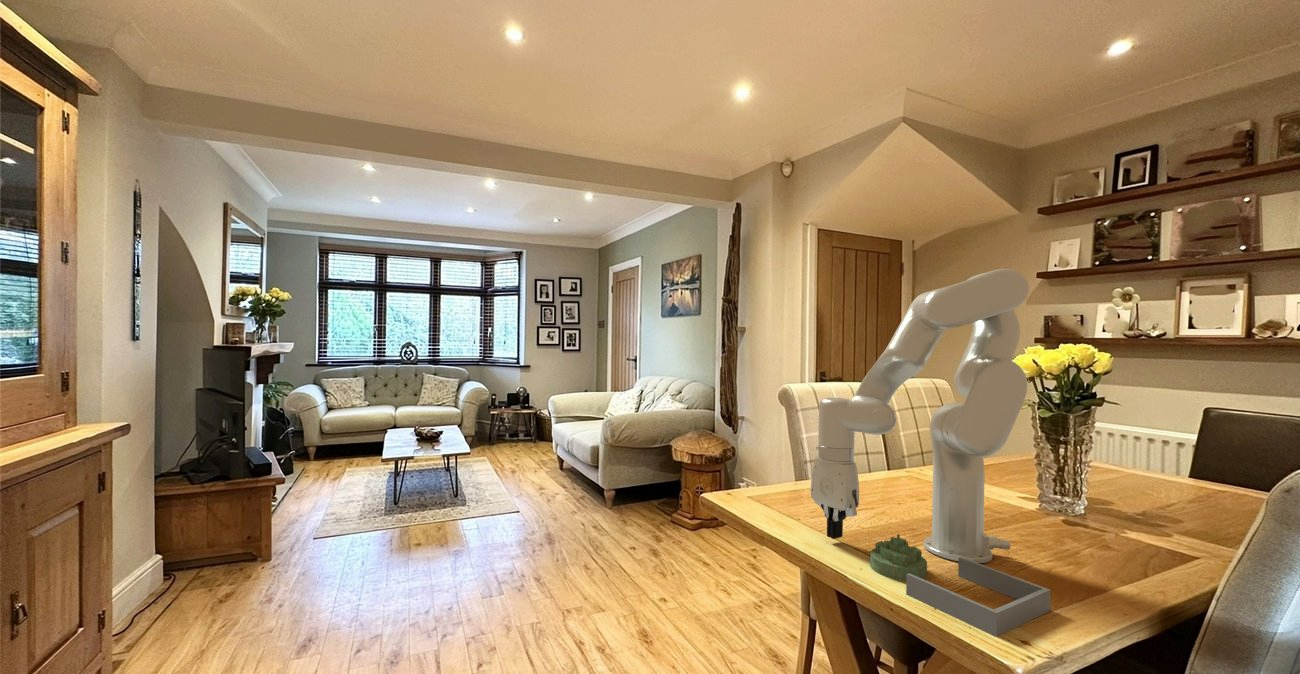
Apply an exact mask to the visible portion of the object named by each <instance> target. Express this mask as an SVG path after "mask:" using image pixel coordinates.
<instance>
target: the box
mask: <svg viewBox="0 0 1300 674" xmlns="http://www.w3.org/2000/svg"><path fill="white" fill-rule="evenodd" d="M957 573H958V575H957V576H958V577H960V578H963V579H964V580H967V581H970V582H971V583H972V582H973V583H974V584H977V585H979V586H982V587H985V588H987V589H990V590H992V591H995V592H997V593H1000V594H1002V595H1005V596H1007V597H1010V598H1012V599H1015V600H1014V601H1010V602H1009V603H1006V604H1004V605H1002V606H999V607H996V608H994V609H993V608H991V607H989V606H986V605H984V604H982V603H981V602H977V601H975V600H973V599H970V598H968V597H965V596H963V595H961V594H958V593H956V592H954V591H952V590H949V589H947V588H945V587H942V586H940V585H938V584H935V583H933V582H931V581H928V580H926V579H922V578H919V577H917V576H915V575H912V574H910V573H908V574H907V575H906V581H905V583H906V589H905V592H906V593H905V594H906V595H907V596H910V597H912V598H913V599H916V600H918V601H920V602H923V603H924V604H926V605H929V606H930V607H933V608H935V609H938V610H939V611H941V612H944V613H945V614H948V615H949V616H952V617H954V618H956V619H958V620H960V621H963V622H965V623H967V624H969V625H970V626H973V627H975V628H977V629H979V630H982V631H983V632H985V633H987V634H990V635H992V636H994V637H998V636H1000V635H1003V634H1005V633H1007V632H1009V631H1011V630H1013V629H1015V628H1017V627H1020V626H1021V625H1024V624H1026V623H1028V622H1031V621H1033V620H1034V619H1036V618H1039V617H1041V616H1043V615H1044V614H1047V613H1049V612H1051V608H1052V607H1051V604H1052V603H1051V600H1052V599H1051V594H1052V590H1051V589H1049V588H1047V587H1044V586H1042V585H1038V584H1036V583H1033V582H1030V581H1028V580H1026V579H1023V578H1019V577H1018V576H1014V575H1011V574H1009V573H1007V572H1006V573H1005V572H1004V571H1001V570H997V569H995V568H993V567H989V566H987V565H984V564H983V563H976V562H974V561H971V560H968V559H965V558H963V557H959V561H958V572H957Z"/></svg>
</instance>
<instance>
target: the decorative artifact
mask: <svg viewBox="0 0 1300 674" xmlns="http://www.w3.org/2000/svg"><path fill="white" fill-rule="evenodd" d="M874 547H875V548H872V549H871V551H870V554H869V555H870V556H869V557H870V559H869V562H870V563H869V567H870V568H871V570H873V571H874V572H875V573H877V574H879V575H881V576H883V577H886V578H888V579H892V580H895V581H901V582H906V575H907V574H908V573H910V574H912V575H915V576H917V577H919V578H922V579H924V580H926V579H927V576H928V561H927V560H926V558H924V557H923V553H922V550H921V549H919V548H918V547H917V546H914V545H912V546H909V542H908V541H907V539H905V538H901V535H900V534H897V535H896V537H895V536H891V537H890V540H886V539H885V540H884V541H882V540H881V541H878V542H876V543H875V545H874Z"/></svg>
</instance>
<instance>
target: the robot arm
mask: <svg viewBox="0 0 1300 674" xmlns="http://www.w3.org/2000/svg"><path fill="white" fill-rule="evenodd" d="M1029 293H1030V283H1029V281H1028V279H1027V278H1026V276H1024V274H1022V273H1021V272H1020V271H1017V270H1016V269H1012V268H1006V267H1005V268H998V269H994V270H990V271H987V272H984V273H978V274H976V275H974V276H971V277H969V278H968V279H966V280H964V281H960V282H957V283H954V284H952V285H951V284H950V285H947V286H943V287H940V288H936V289H932V290H930V291H925V292H922V293H921V294H919V295H917V296H916V297H915V298H914V299H913V301H911V303H910V305H909V307H908V308H907V311H906V312H905V314H904V316H903V317H902V320H901V321H900V323H899V325H898V327H897V328H896V330H895V332H894V334H893V336H892V337H891V340H890V341H889V342H888V345H887V346H886V348H885V349H884V351H883V352H882V353H881V354H880V356H879V357H878V358H877V360H876V362H875V363H874V364H873V365H872V367H871V368H870V369H869V371H868V372H867V373H866V375H865V376H864V378H863V379H862V381H861V383H860V385H859V387H858V388H857V390H856V392H854V393H855V394H854V395H853V397H852V398H851V399H849V398H844V397H824V398H822V399H820V400H819V405H818V435H817V436H818V437H817V438H818V444H817V445H816V446H815V448H816V451H817V452H818V453H817V456H815V459H814V462H813V465H812V471H811V472H812V473H811V481H810V497H811V499H812V500H813V501H814V503H815V504H816V505H818V507H820V508H821V509H822V511H823V514H824V515H823V516H824V517H825V518H826V536H827V538H831V539H833V540H835V539H839V538H842V537H843V536H844V535H843V532H844V530H843V529H844V528H843V527H844V521H845V520H846V518H847V517H849V518H851V517H856V516H858V512H857V508H859V506H860V505H859V504H860V483H859V481H860V480H859V473H858V467H857V462H855V432H856V433H863V434H868V435H873V436H880V435H885V434H887V433H889V432H891V431H892V430H893V429H894V427H895V426H896V423H897V413H896V412H895V410H894V408H893V407H892V406H891V405H890V404H889V403H890V401H891V399H892V398H893V396H894V394H895V393H896V391H898V389H899V388H900V387H901V385H903V384H904V383H905V382H906V381H908V380H910V379H911V378H912V377H915V376H916V375H917V374H919V373H920V372H921V371H922V370H923V369H925V367H926V365H927V363H928V362H929V360H930V358H931V356H932V355H933V352H934V351H935V349H936V347H937V346H938V344H939V342H940V341H941V339H942V337H943V335H944V333H945V331H946V330H951V329H955V328H960V327H963V326H966V325H967V326H968V325H970V324H972V330H971V335H970V338H969V341H968V344H967V345H966V348H965V350H964V353H963V355H962V358H961V360H960V362H959V365H958V367H957V368H956V369H957V370H956V372H955V374H954V379H953V383H954V387H955V389H956V391H957V392H958V393H959V394H960V395H961V396H962V397H963V398H966V399H965V401H964V403H960V402H952V403H947V404H944V405H943V404H942V405H941V406H939V408H937V409H936V410H935V412H934V413H933V414H932V416H931V419H930V424H929V431H930V432H929V433H930V440H931V447H932V501H931V502H932V505H931V507H932V510H931V511H932V513H931V514H932V516H931V517H932V519H931V521H932V522H931V535H930V536H927V537H925V538H924V539H923V546H924V548H925V549H926V550H927V551H928V552H930V553H932V554H933V555H936V556H938V557H941V558H944V559H947V560H951V561H954V562H959V557H963V558H965V559H968V560H971V561H974V562H976V563H979V564H985V563H986V564H987V563H989V562H991V561H992V559H993V552H992V551H993V550H994V549H998V550H999V549H1000V550H1008V551H1010V549H1011V542H1010V540H1009V539H1000V538H998V537H997V536H995V535H994V536H993V535H988V534H987V533H985V529H984V528H985V526H984V525H985V482H986V480H985V479H986V478H985V476H986V475H985V472H986V471H985V461H984V458H986V457H991V456H994V455H995V454H996V453H998V452H999V451H1000V450H1001V449H1002V448H1004V446H1005V444H1006V442H1007V441H1008V438H1009V436H1010V434H1011V432H1012V429H1013V428H1014V425H1015V424H1016V420H1017V418H1018V416H1019V414H1020V411H1021V409H1022V406H1023V405H1024V402H1025V399H1026V397H1027V393H1028V379H1027V375H1026V373H1025V371H1024V370H1023V368H1022V367H1021V365H1019V364H1017V363H1016V362H1014V360H1013V359H1014V356H1015V353H1016V351H1017V348H1018V345H1019V341H1020V336H1021V328H1020V327H1021V326H1020V322H1019V319H1018V317H1017V314H1016V312H1015V309H1017V308H1019V307H1020V306H1021V305H1022V304H1024V302H1025V301H1026V299H1027V298H1028V296H1029Z"/></svg>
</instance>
